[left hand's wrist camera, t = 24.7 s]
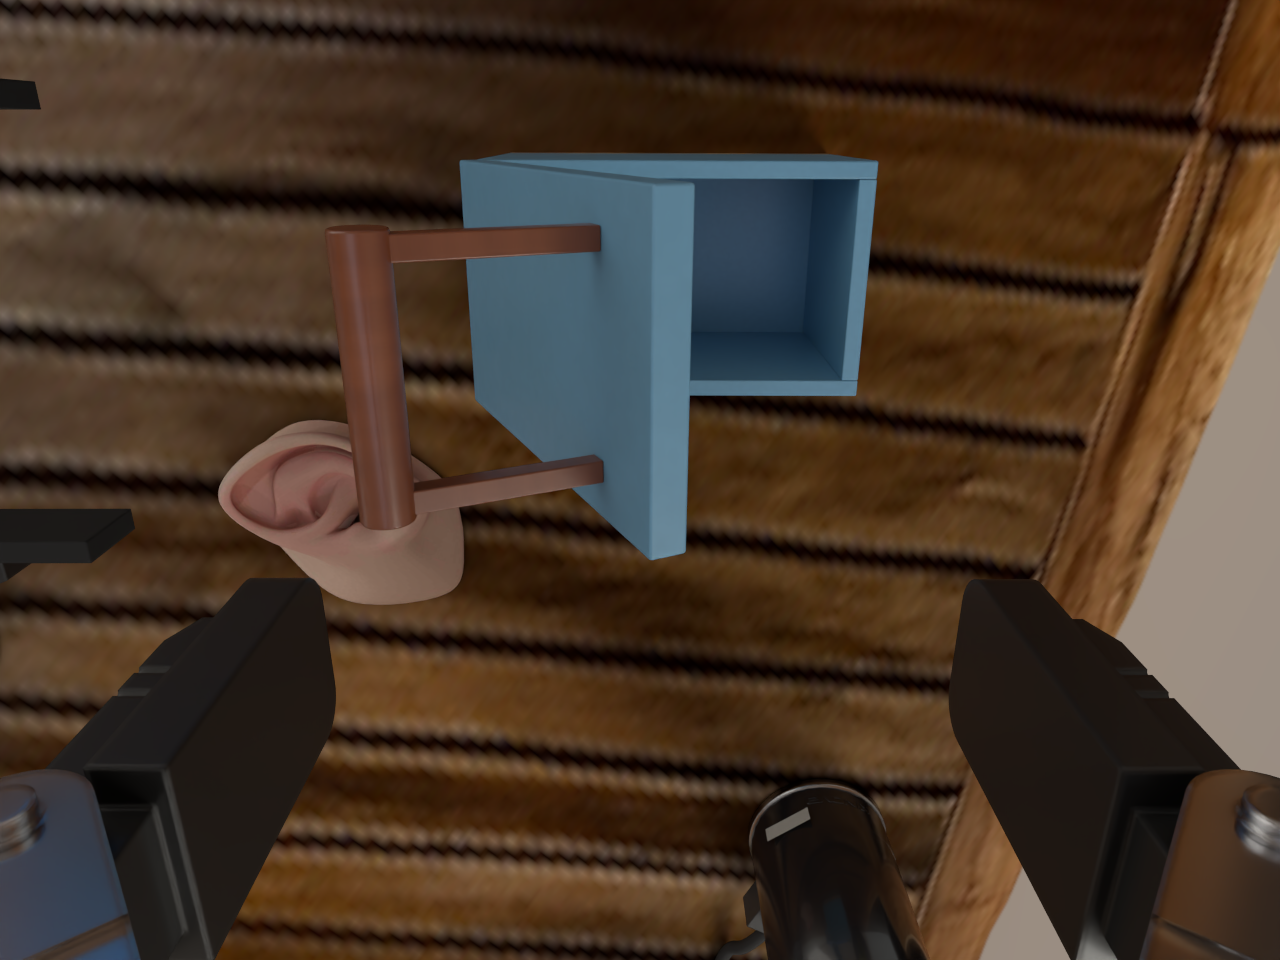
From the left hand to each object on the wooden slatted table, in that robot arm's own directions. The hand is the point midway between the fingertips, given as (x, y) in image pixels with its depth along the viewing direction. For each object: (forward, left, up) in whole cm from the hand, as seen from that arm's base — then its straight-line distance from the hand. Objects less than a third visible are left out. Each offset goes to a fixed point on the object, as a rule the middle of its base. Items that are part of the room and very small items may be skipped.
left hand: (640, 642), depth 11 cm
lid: (-1, +2, -20) cm, 20 cm away
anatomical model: (-18, +13, -39) cm, 45 cm away
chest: (0, -2, -39) cm, 39 cm away
